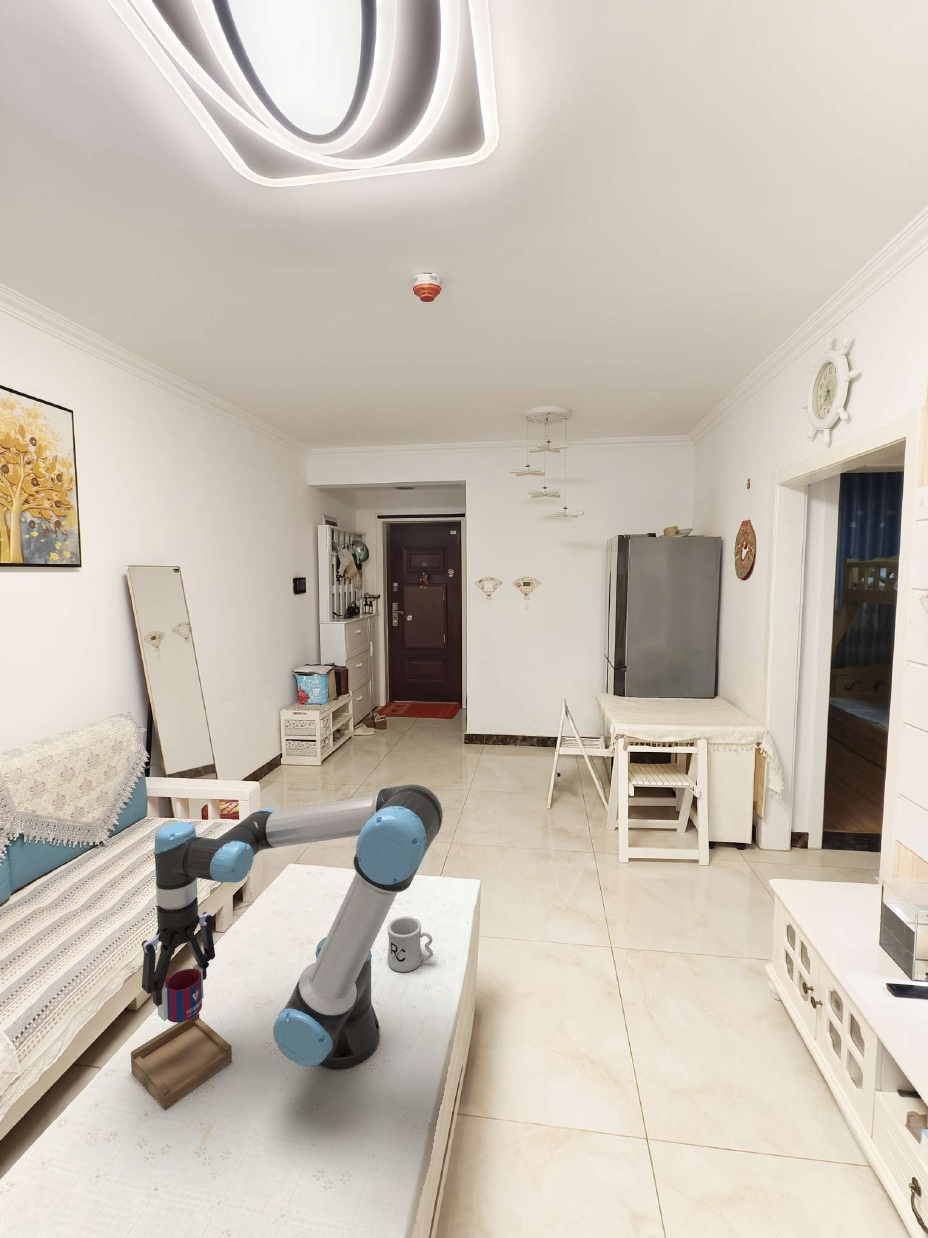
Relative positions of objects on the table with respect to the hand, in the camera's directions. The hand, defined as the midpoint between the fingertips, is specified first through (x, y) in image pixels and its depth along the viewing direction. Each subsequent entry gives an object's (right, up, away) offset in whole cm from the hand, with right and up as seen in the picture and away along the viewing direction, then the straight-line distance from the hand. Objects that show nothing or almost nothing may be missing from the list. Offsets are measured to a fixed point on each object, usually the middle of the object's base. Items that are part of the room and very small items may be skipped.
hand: (181, 1006), depth 121 cm
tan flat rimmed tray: (0, -13, +1) cm, 13 cm away
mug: (+45, -11, +33) cm, 57 cm away
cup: (0, -1, 0) cm, 1 cm away
